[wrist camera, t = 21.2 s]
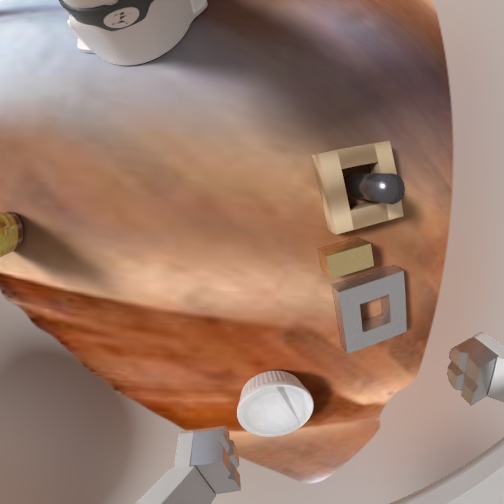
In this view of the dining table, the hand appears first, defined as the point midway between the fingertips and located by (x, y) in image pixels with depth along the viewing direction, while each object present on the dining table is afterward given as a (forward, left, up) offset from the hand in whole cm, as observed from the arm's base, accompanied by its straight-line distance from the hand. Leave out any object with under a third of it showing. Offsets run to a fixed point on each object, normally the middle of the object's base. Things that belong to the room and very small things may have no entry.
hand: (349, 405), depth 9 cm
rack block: (-3, +14, -31) cm, 34 cm away
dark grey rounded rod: (-3, +14, -31) cm, 34 cm away
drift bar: (+5, +10, -31) cm, 33 cm away
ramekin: (+25, -4, -32) cm, 40 cm away
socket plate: (+14, +13, -31) cm, 37 cm away
